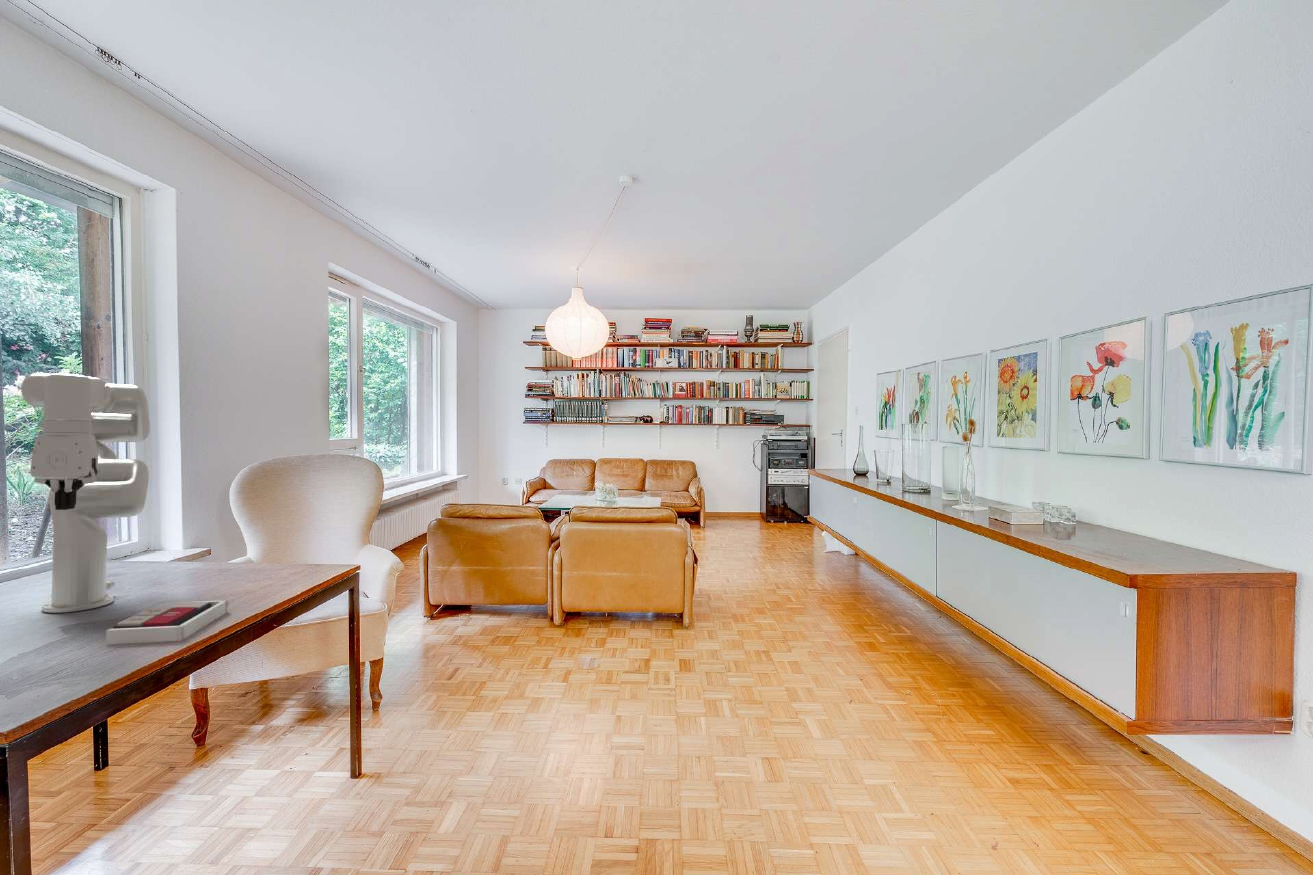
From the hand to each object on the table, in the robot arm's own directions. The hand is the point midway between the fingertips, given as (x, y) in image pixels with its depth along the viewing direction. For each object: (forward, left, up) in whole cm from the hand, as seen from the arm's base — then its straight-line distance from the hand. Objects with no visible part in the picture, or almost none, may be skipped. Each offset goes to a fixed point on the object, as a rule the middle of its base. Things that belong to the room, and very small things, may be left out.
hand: (65, 508), depth 125 cm
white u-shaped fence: (+3, +22, -27) cm, 35 cm away
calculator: (+2, +21, -28) cm, 35 cm away
